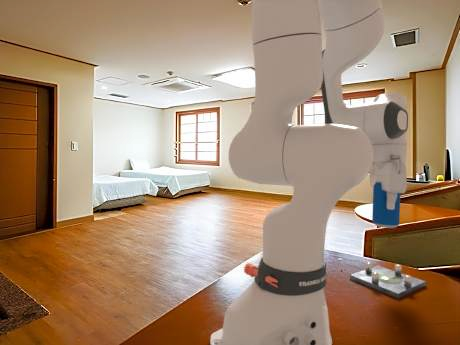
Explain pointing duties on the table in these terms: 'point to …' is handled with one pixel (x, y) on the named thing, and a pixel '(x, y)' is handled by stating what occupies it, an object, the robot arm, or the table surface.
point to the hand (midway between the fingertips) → (385, 207)
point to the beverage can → (384, 208)
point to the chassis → (388, 280)
